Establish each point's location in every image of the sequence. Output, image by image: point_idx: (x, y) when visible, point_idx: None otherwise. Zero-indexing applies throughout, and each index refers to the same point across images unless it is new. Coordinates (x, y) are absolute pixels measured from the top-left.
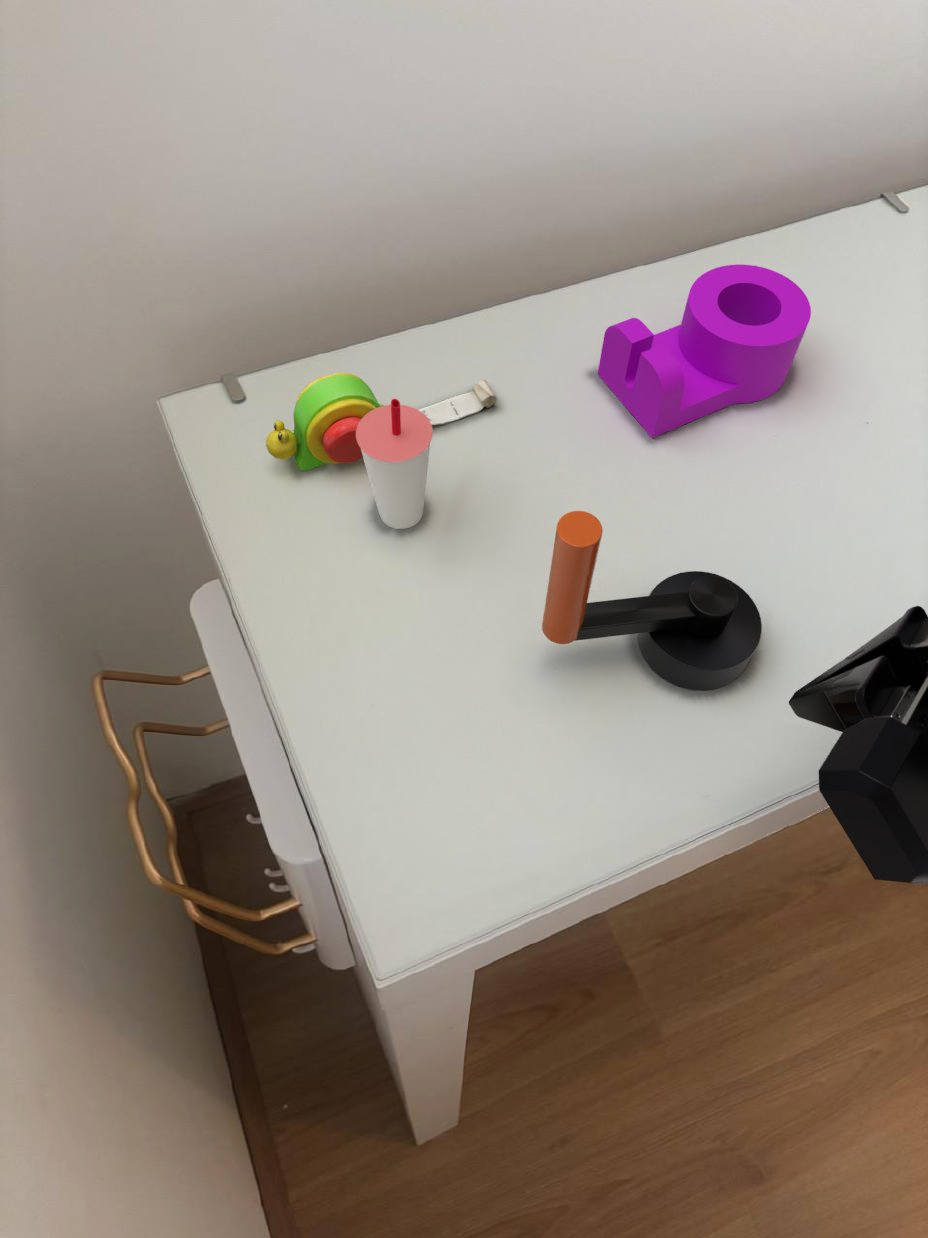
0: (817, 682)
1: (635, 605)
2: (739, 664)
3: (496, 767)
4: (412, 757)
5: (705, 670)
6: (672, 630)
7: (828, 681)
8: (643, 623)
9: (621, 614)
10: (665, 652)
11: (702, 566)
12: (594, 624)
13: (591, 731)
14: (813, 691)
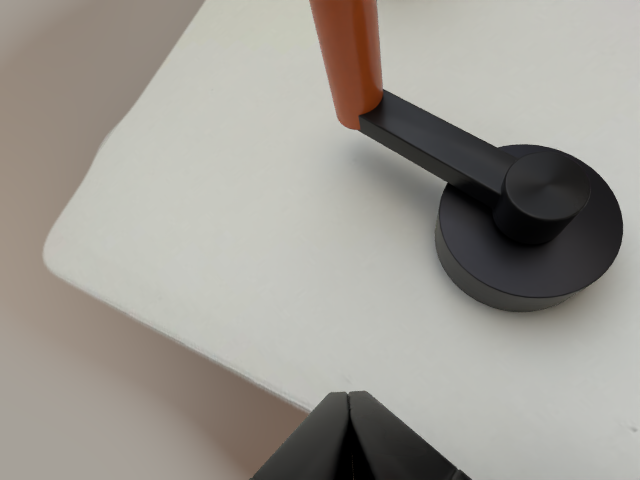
0: (358, 430)
1: (444, 133)
2: (511, 296)
3: (229, 196)
4: (192, 142)
5: (462, 267)
6: (475, 199)
7: (314, 470)
8: (430, 158)
9: (417, 131)
10: (440, 214)
11: (615, 177)
12: (378, 121)
13: (321, 233)
14: (301, 439)
